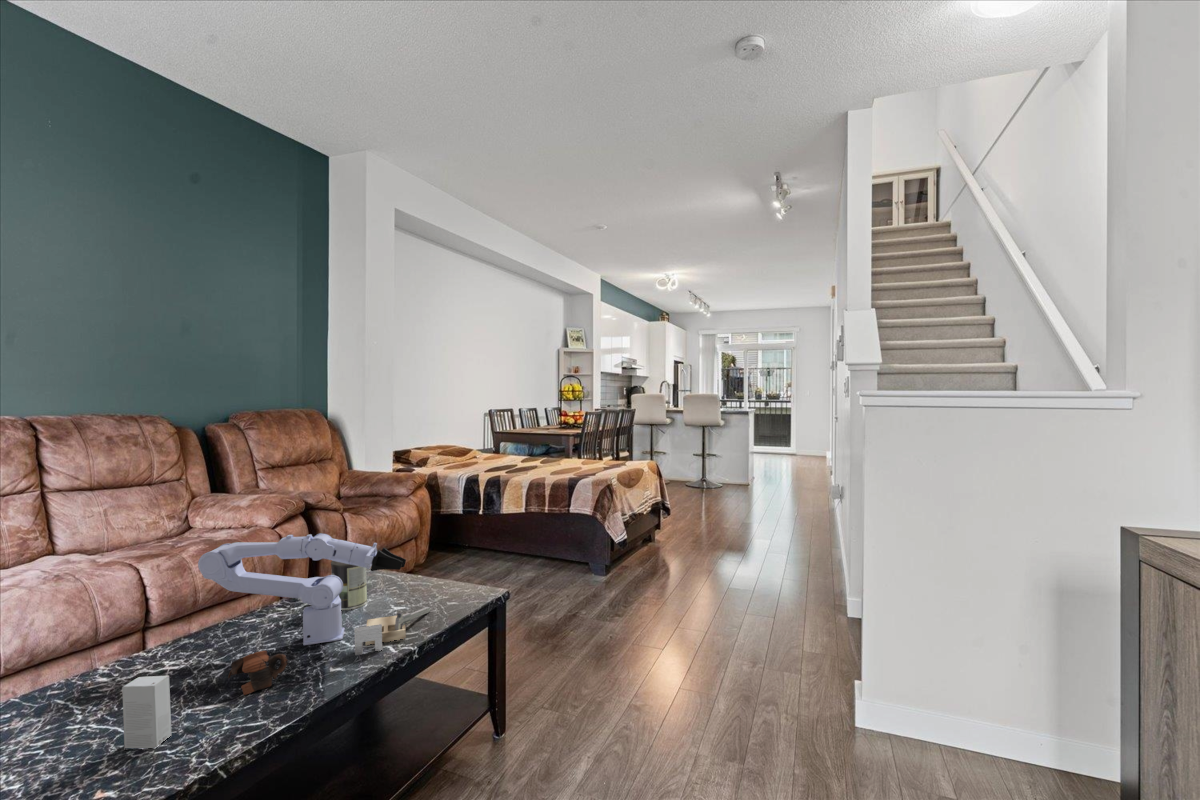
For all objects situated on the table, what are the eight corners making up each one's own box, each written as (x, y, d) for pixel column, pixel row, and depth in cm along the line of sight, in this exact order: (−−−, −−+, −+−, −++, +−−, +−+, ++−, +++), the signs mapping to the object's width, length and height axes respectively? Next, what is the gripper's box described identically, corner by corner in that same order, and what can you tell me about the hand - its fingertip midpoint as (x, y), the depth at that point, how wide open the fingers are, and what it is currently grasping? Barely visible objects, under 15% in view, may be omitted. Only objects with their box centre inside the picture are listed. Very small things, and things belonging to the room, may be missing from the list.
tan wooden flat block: (365, 645, 151) (365, 635, 151) (367, 628, 163) (367, 619, 163) (405, 639, 155) (405, 629, 155) (404, 622, 166) (404, 614, 166)
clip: (355, 655, 146) (354, 631, 146) (355, 651, 148) (355, 628, 148) (382, 650, 148) (381, 627, 148) (382, 647, 150) (381, 624, 150)
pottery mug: (227, 702, 125) (220, 664, 128) (241, 702, 133) (233, 666, 136) (288, 677, 130) (279, 640, 132) (297, 678, 138) (289, 643, 141)
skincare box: (172, 736, 112) (170, 674, 112) (156, 749, 108) (154, 685, 108) (140, 737, 112) (138, 676, 112) (122, 751, 108) (120, 687, 107)
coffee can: (329, 612, 176) (328, 566, 176) (334, 601, 186) (333, 557, 186) (366, 608, 179) (364, 562, 179) (368, 597, 189) (367, 554, 189)
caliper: (399, 638, 155) (398, 615, 155) (395, 638, 155) (394, 614, 155) (432, 610, 175) (431, 589, 175) (428, 610, 175) (428, 589, 175)
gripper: (352, 540, 152) (404, 551, 154) (363, 538, 166) (410, 548, 168) (343, 567, 151) (396, 578, 153) (355, 563, 165) (403, 573, 166)
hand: (403, 564), depth 160 cm, fingers open, 7 cm apart
